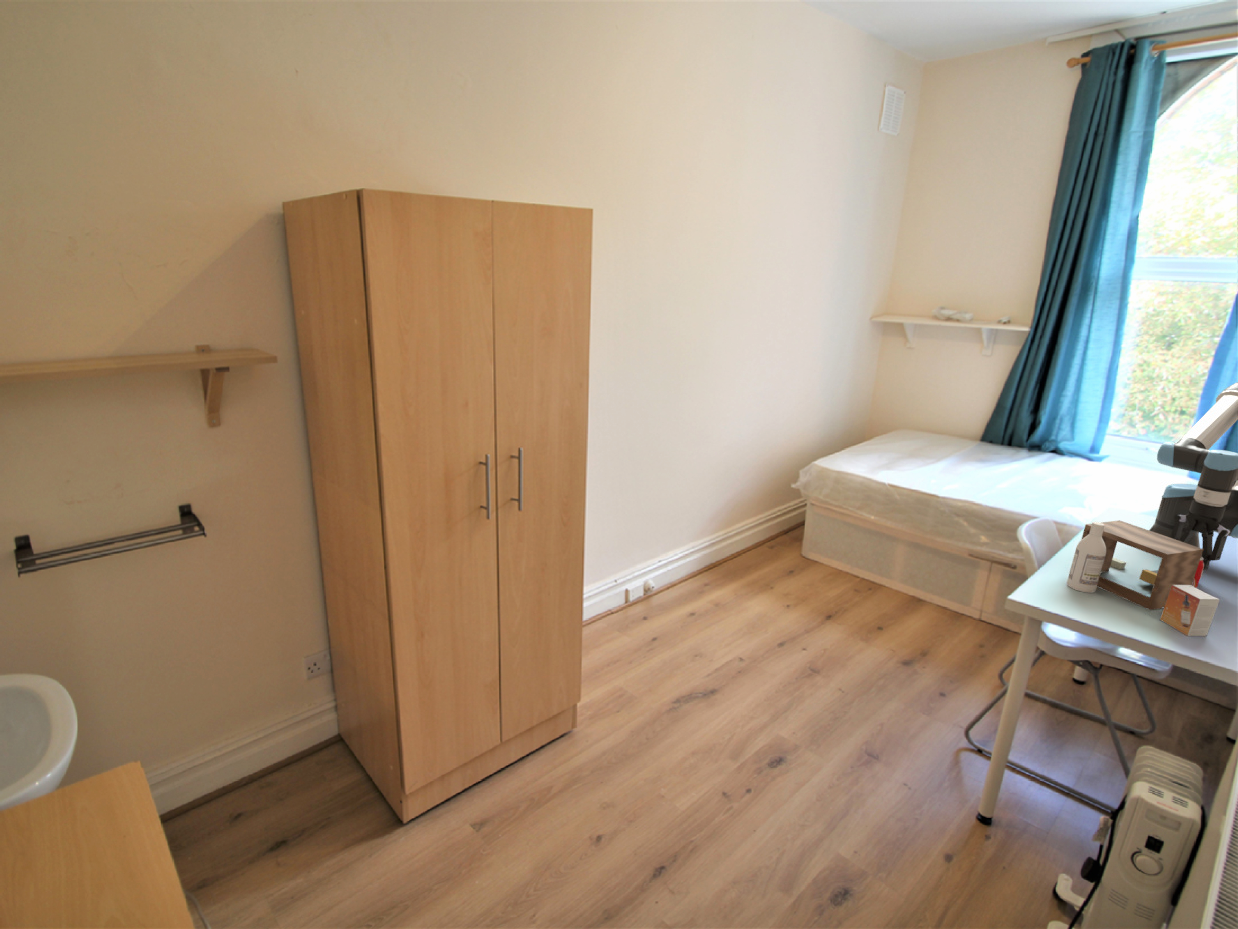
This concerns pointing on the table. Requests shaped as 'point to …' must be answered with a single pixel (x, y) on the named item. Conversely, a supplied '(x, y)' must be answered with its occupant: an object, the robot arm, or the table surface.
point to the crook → (1149, 576)
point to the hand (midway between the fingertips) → (1185, 574)
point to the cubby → (1175, 554)
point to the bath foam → (1088, 560)
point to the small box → (1189, 610)
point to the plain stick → (1118, 563)
